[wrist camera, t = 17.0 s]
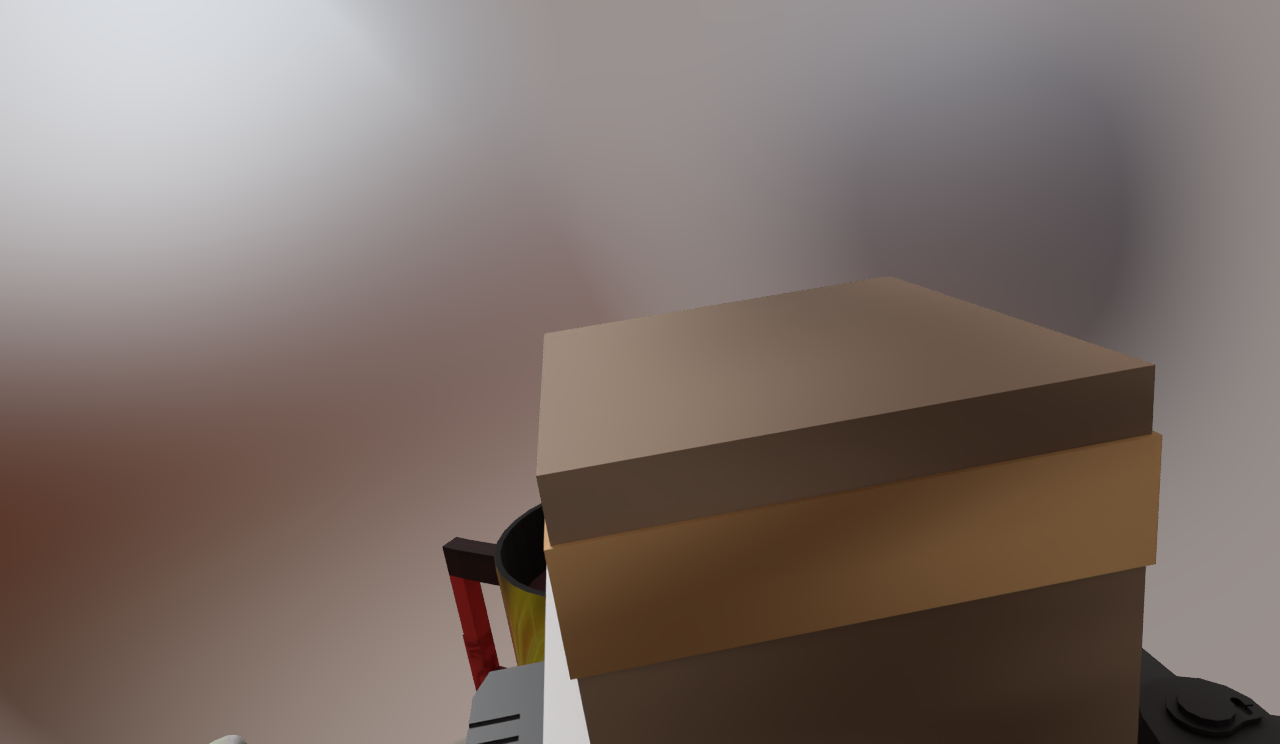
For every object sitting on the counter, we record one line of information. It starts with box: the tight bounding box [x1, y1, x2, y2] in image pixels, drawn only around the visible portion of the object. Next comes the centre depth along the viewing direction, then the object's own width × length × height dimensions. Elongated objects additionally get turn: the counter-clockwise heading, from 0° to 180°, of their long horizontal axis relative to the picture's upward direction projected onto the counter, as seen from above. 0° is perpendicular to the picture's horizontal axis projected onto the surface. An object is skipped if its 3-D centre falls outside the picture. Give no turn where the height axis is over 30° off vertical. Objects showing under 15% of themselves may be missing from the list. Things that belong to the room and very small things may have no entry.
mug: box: [443, 503, 547, 692], centre depth 33 cm, size 10×14×12 cm
